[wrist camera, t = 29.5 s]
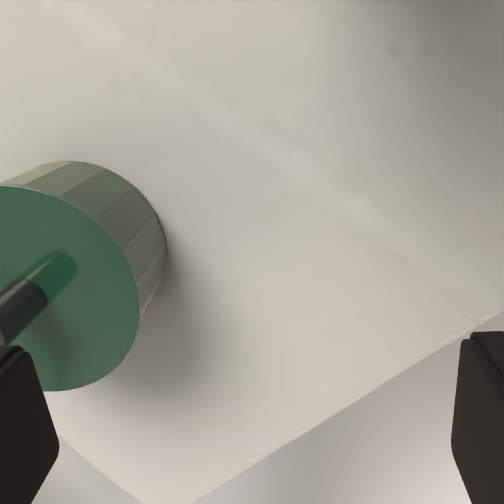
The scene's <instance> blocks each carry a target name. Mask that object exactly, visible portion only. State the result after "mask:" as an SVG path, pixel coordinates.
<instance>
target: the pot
mask: <svg viewBox="0 0 504 504" xmlns="http://www.w3.org/2000/svg"><path fill="white" fill-rule="evenodd" d="M2 183H13V184H23V185H29V186H33V187H37V188H42V189H44V190H47V191H50V192H53V193H56V194H58V195H60V196H62V197H64V198H66V199H68V200H70V201H72V202H74V203H75V204H77V205H78V206H80V207H82V208H83V209H85V210H86V211H88V212H89V213H90V214H91V215H92V216H94V217H95V218H96V219H97V220H99V221H100V222H101V223H102V224H103V225H104V226H105V227H106V228H107V229H108V230H109V231H110V232H111V234H112V235H113V236H114V237H115V239H116V240H117V241H118V243H119V244H120V245H121V247H122V248H123V250H124V252H125V253H126V255H127V257H128V258H129V260H130V263H131V265H132V267H133V269H134V272H135V274H136V278H137V281H138V285H139V289H140V296H141V317H142V315H143V313H144V312H145V310H146V308H147V306H148V305H149V303H150V301H151V299H152V298H153V296H154V294H155V292H156V290H157V288H158V285H159V283H160V281H161V279H162V276H163V273H164V270H165V264H166V242H165V236H164V233H163V229H162V226H161V224H160V221H159V219H158V217H157V215H156V213H155V211H154V209H153V208H152V206H151V205H150V204H149V202H148V201H147V199H146V198H145V197H144V196H143V195H142V194H141V193H140V192H139V191H138V189H136V188H135V187H134V186H133V185H132V184H130V183H129V182H128V181H127V180H125V179H124V178H122V177H121V176H119V175H117V174H116V173H114V172H112V171H110V170H108V169H105V168H102V167H100V166H97V165H93V164H89V163H84V162H74V161H68V162H57V163H51V164H44V165H42V166H39V167H37V168H35V169H32V170H30V171H27V172H25V173H23V174H20V175H18V176H16V177H13V178H11V179H9V180H6V181H4V182H2Z"/></svg>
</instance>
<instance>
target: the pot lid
mask: <svg viewBox="0 0 504 504" xmlns="http://www.w3.org/2000/svg"><path fill="white" fill-rule="evenodd" d="M140 319H141V296H140V289H139V285H138V281H137V278H136V274H135V272H134V269H133V267H132V265H131V263H130V260H129V258H128V257H127V255H126V253H125V252H124V250H123V248H122V247H121V245H120V244H119V243H118V241H117V240H116V239H115V237H114V236H113V235H112V234H111V232H110V231H109V230H108V229H107V228H106V227H105V226H104V225H103V224H102V223H101V222H100V221H99V220H97V219H96V218H95V217H94V216H92V215H91V214H90V213H89V212H88V211H86V210H85V209H83V208H82V207H80V206H78V205H77V204H75V203H74V202H72V201H70V200H68V199H66V198H64V197H62V196H60V195H58V194H56V193H53V192H50V191H47V190H44V189H42V188H37V187H33V186H29V185H23V184H13V183H0V346H5V345H19V346H21V347H22V348H23V349H24V350H25V351H26V352H29V353H30V354H31V357H32V359H33V362H34V366H35V369H36V372H37V375H38V378H39V381H40V384H41V387H42V390H43V391H65V390H71V389H76V388H80V387H83V386H86V385H89V384H91V383H94V382H96V381H97V380H99V379H101V378H103V377H105V376H106V375H107V374H109V373H110V372H111V371H113V370H114V369H115V368H116V367H117V366H118V365H119V364H120V363H121V362H122V360H123V359H124V358H125V356H126V355H127V353H128V352H129V350H130V348H131V346H132V344H133V342H134V340H135V338H136V336H137V332H138V329H139V326H140Z"/></svg>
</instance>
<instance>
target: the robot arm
mask: <svg viewBox="0 0 504 504" xmlns="http://www.w3.org/2000/svg"><path fill="white" fill-rule="evenodd" d="M451 447H452V453H453V456H454V460H455V462H456V465H457V467H458V469H459V472H460V475H461V477H462V480H463V482H464V485H465V487H466V490H467V492H468V495H469V498H470V500H471V503H472V504H504V332H503V331H490V332H473V333H472V334H471V336H470V339H464V340H463V341H462V343H461V348H460V358H459V367H458V377H457V388H456V396H455V406H454V416H453V425H452V435H451ZM58 453H59V441H58V437H57V434H56V431H55V428H54V425H53V422H52V419H51V415H50V412H49V409H48V406H47V403H46V400H45V397H44V394H43V390H42V387H41V384H40V381H39V378H38V375H37V372H36V369H35V366H34V362H33V359H32V357H31V354H30V353H29V352H26V351H25V350H24V349H23V348H22V347H21V346H19V345H5V346H0V504H31V503H32V501H33V499H34V498H35V496H36V494H37V492H38V490H39V489H40V487H41V485H42V483H43V482H44V480H45V478H46V476H47V475H48V473H49V471H50V469H51V468H52V466H53V464H54V463H55V461H56V459H57V457H58Z"/></svg>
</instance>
